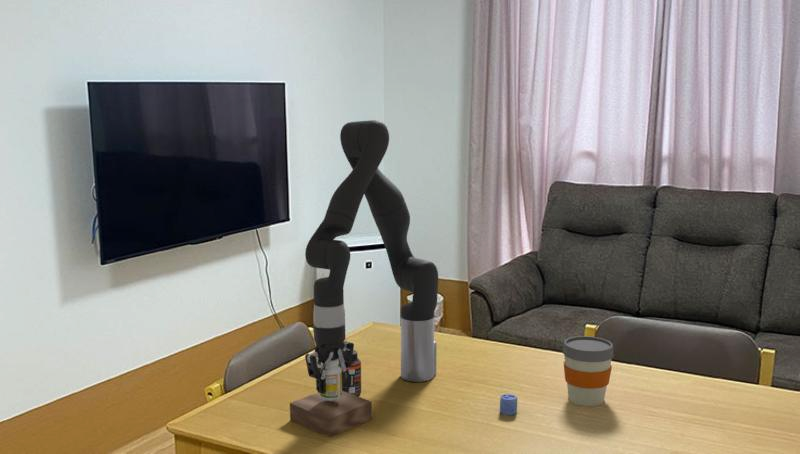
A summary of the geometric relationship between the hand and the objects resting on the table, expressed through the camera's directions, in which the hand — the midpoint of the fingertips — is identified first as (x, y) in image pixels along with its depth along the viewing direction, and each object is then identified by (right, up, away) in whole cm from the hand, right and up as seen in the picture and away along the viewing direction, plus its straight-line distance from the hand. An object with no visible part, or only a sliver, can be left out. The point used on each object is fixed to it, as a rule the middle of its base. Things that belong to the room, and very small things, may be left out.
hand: (330, 388), depth 200 cm
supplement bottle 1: (0, -2, 0) cm, 2 cm away
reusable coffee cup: (+65, -6, +13) cm, 66 cm away
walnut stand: (0, -8, +1) cm, 8 cm away
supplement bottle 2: (+4, -5, +18) cm, 19 cm away
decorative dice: (+44, -7, +6) cm, 45 cm away
